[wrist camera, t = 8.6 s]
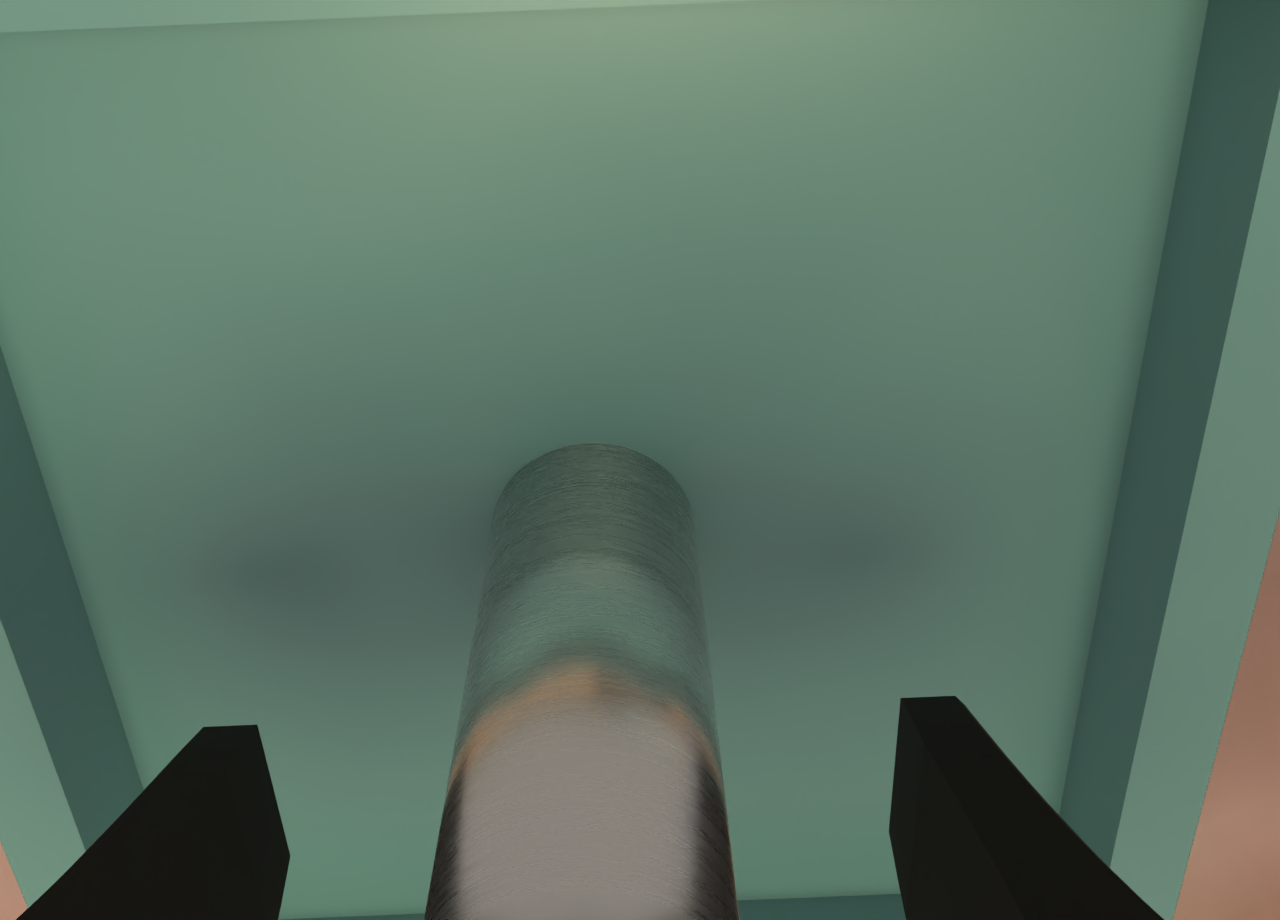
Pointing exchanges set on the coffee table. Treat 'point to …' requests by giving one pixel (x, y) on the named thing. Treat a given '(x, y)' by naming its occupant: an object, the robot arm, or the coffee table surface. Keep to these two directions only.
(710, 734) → the pin
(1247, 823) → the coffee table surface
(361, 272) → the tray
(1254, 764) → the coffee table surface
